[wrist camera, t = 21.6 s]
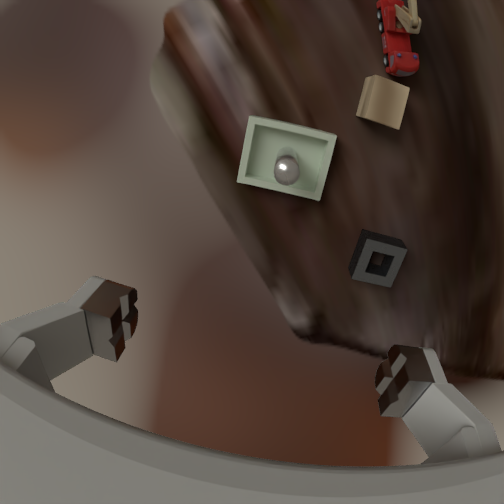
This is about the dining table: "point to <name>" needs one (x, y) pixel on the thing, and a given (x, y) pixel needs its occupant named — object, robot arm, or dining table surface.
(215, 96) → the dining table surface
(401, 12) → the toy fire truck
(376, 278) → the socket block
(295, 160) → the pin
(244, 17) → the dining table surface
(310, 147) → the tray
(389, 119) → the block
